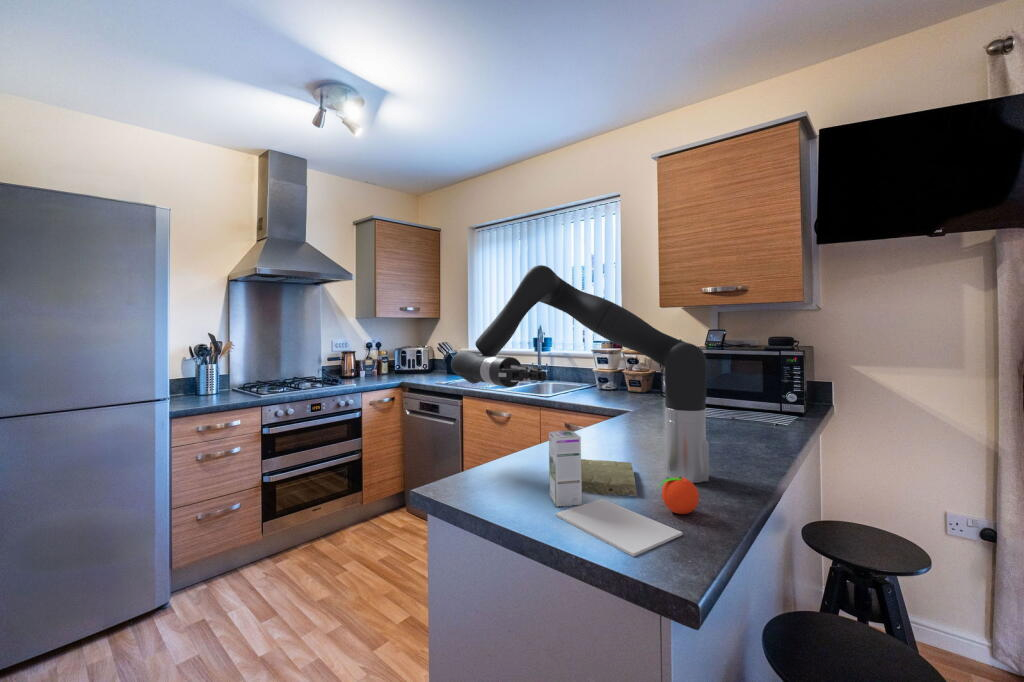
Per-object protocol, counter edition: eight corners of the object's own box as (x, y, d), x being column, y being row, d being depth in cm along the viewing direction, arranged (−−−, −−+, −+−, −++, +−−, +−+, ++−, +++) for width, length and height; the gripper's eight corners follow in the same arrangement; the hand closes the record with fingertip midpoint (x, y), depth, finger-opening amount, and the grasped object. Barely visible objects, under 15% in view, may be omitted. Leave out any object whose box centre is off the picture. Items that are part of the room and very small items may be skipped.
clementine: (663, 520, 82) (663, 483, 81) (651, 506, 88) (651, 471, 88) (705, 520, 82) (705, 482, 81) (690, 505, 88) (690, 471, 88)
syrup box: (582, 505, 89) (582, 435, 89) (555, 507, 88) (554, 436, 88) (574, 495, 94) (574, 429, 94) (548, 497, 93) (548, 430, 93)
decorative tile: (555, 468, 116) (555, 455, 116) (632, 473, 111) (632, 459, 111) (546, 493, 97) (546, 477, 97) (638, 499, 93) (638, 483, 93)
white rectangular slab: (555, 515, 84) (555, 513, 84) (602, 501, 91) (602, 498, 91) (633, 556, 68) (633, 553, 68) (682, 535, 75) (682, 532, 75)
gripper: (478, 357, 106) (519, 360, 91) (521, 355, 113) (566, 358, 99) (478, 387, 106) (519, 395, 92) (521, 384, 113) (566, 391, 99)
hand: (543, 376), depth 95 cm, fingers closed
